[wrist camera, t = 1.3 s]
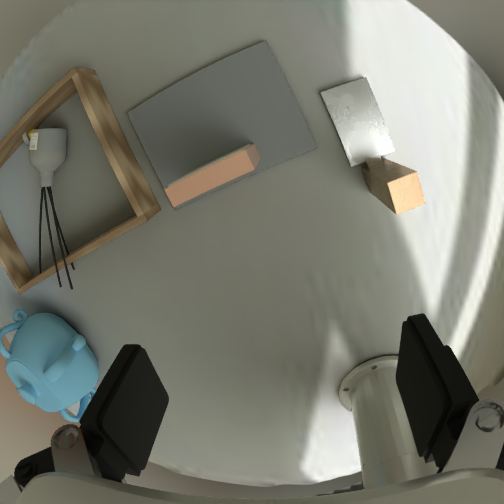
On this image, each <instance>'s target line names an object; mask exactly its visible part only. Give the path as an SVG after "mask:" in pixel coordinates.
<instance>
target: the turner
mask: <svg viewBox="0 0 504 504" xmlns="http://www.w3.org/2000/svg"><path fill="white" fill-rule="evenodd" d="M320 95H321V97H322V99H323V101H324V103H325V106H326V108H327V110H328V112H329V115H330V117H331V119H332V122H333V124H334V126H335V129H336V131H337V133H338V136H339V138H340V141H341V143H342V146H343V148H344V151H345V153H346V156H347V159H348V161H349V164H350V166H351V167H353V166H355V165H358V164H361V163H363V162H366V164H367V166H366V167H363V168H362V169H363V172H364V175H365V178H366V181H367V184H368V187H369V190H370V193H372V194H373V195H374V196H375V197H376V198H378V199H379V200H380V201H381V202H382V203H384V204H385V205H386V206H387V207H388V208H389V209H391V210H392V211H393V212H394V213H395V214H396V215H398V214H401V213H403V212H406V211H408V210H411V209H413V208H416V207H418V206H421V205H423V204H425V200H424V196H423V192H422V188H421V184H420V180H419V177H418V173H417V171H414V170H412V169H410V168H407V167H405V166H402V165H400V164H397V163H395V162H392V161H390V160H387V159H384V160H382V159H381V156H382V155H385V154H388V153H390V152H393V151H395V150H394V147H393V144H392V141H391V138H390V136H389V133H388V130H387V127H386V125H385V122H384V119H383V117H382V114H381V112H380V109H379V107H378V104H377V102H376V99H375V97H374V95H373V92H372V90H371V88H370V85H369V83H368V81H367V79H366V77H365V78H362V79H359V80H355V81H352V82H349V83H346V84H343V85H340V86H337V87H334V88H331V89H329V90H326V91H323V92H320Z"/></svg>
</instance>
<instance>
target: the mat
mask: <svg viewBox="0 0 504 504" xmlns="http://www.w3.org/2000/svg"><path fill="white" fill-rule="evenodd" d="M127 115H128V117H129V119H130V121H131V123H132V125H133V127H134V129H135V131H136V133H137V136H138V138H139V140H140V142H141V144H142V146H143V148H144V150H145V152H146V154H147V156H148V158H149V160H150V162H151V164H152V166H153V168H154V170H155V172H156V174H157V176H158V178H159V180H160V182H161V184H162V186H163V188H164V189H166V188H167V187H168V185H169V184H171V183H173V182H174V181H176V180H178V179H179V178H181V177H183V176H184V175H186V174H188V173H189V172H191V171H193V170H195V169H197V168H199V167H201V166H203V165H205V164H207V163H209V162H211V161H213V160H215V159H217V158H219V157H222V156H224V155H226V154H228V153H230V152H232V151H234V150H237V149H239V148H241V147H243V146H245V145H248V144H255V146H256V149H257V151H258V153H259V155H260V157H261V159H260V160H259V162H258V164H257V166H256V168H255V170H253V171H250V172H248V173H246V174H244V175H241V176H239V177H237V178H235V179H232V180H230V181H228V182H226V183H224V184H221V185H219V186H217V187H215V188H213V189H211V190H208V191H206V192H204V193H202V194H200V195H198V196H196V197H194V198H192V199H190V200H188V201H185V202H183V203H181V204H179V205H177V206H175V207H174V209H175V210H177V209H179V208H181V207H183V206H185V205H187V204H189V203H192V202H194V201H196V200H198V199H200V198H202V197H204V196H206V195H208V194H211V193H213V192H215V191H217V190H219V189H221V188H224V187H226V186H228V185H230V184H233V183H235V182H237V181H239V180H241V179H244V178H246V177H248V176H251V175H253V174H255V173H257V172H260V171H262V170H264V169H267V168H269V167H272V166H274V165H276V164H279V163H281V162H284V161H286V160H288V159H291V158H293V157H296V156H298V155H301V154H303V153H306V152H308V151H311V150H313V149H316V148H317V145H316V143H315V140H314V138H313V136H312V134H311V131H310V129H309V127H308V124H307V122H306V120H305V118H304V116H303V113H302V111H301V109H300V107H299V105H298V103H297V101H296V98H295V96H294V94H293V92H292V90H291V88H290V86H289V84H288V82H287V80H286V78H285V76H284V74H283V72H282V70H281V68H280V66H279V64H278V62H277V60H276V58H275V56H274V54H273V52H272V51H271V49H270V47H269V45H268V43H267V41H263V42H261V43H258V44H256V45H253V46H251V47H249V48H246V49H244V50H242V51H239V52H237V53H235V54H233V55H230V56H228V57H226V58H224V59H222V60H220V61H218V62H215V63H213V64H211V65H209V66H207V67H205V68H203V69H201V70H199V71H197V72H196V73H194V74H192V75H190V76H188V77H186V78H184V79H182V80H181V81H179V82H177V83H175V84H173V85H172V86H170V87H168V88H166V89H165V90H163V91H161V92H160V93H158V94H156V95H155V96H153V97H151V98H150V99H148V100H146V101H145V102H143V103H142V104H140V105H139V106H137V107H135V108H134V109H132V110H131V111H129V112H128V113H127Z"/></svg>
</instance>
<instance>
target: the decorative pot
mask: <svg viewBox="0 0 504 504" xmlns="http://www.w3.org/2000/svg"><path fill="white" fill-rule="evenodd" d="M18 315H19V316H21V317H22V320H21V321H20V320H19V318H18ZM13 319H14V321H15V322H16V323H13V324H9V325H7V326H5V327H3V328H1V329H0V352H1V354H2V355H3V356H4V357H5V358H7V361H6V372H7V374H8V375H9V377H10V379H11V380H12V381H13V383H14V384H15V385H16V386H17V388H16V389H17V391H18V393H19V394H20V395H21V396H22V397H23V398H24V399H25V400H26V401H27V402H29V403H31V404H35V405H37V406H38V407H39V408H41V409H43V410H44V411H47V412H56V411H59V413H60V414H61V415H62V416H63V418H65V419H66V420H68V421H71V422H79V420H80V418H81V417H82V415H83V413H84V411H85V410H86V408H87V406H88V401H89V402H90V401H91V399H92V397H93V396H94V394H95V392H96V389H95V388H94V386H95V385H96V383H97V381H98V379H99V368H98V363H97V360H96V358H95V356H94V354H93V352H92V351H91V349H90V348H89V347H88V345H87V344H86V340H85V338H84V337H83V336H82V335H79V334H78V333H77V332H76V331H75V330H74V329H73V328H72V327H70V326H69V325H68V324H67V323H66V322H65V320H64V319H62V318H61V317H58V316H56V315H54V314H52V313H37V314H34V315H32V316H30V317H28V314H27V313H26V312H25V311H24V310H22V309H18V310H16V311H15V312H14V314H13ZM18 328H19V329H18ZM15 329H18V331H17V332H16V334H15V336H14V338H13V340H12V342H11V345H10V349H9V351H8V350H7V349H6V348H5V346H4V344H3V341H2V337H3V335H4V334H6V333H7V332H10V331H12V330H15ZM89 393H90V394H91V398H90V397H89ZM80 399H81V402H80V408H79V412H78V414H77V416H76V417H74V416H72V415H70V414H69V413H68V412H67V411H66V410H65V408H66V407H68V406H70V405H72V404H74V403H76V402H77V401H79V400H80Z"/></svg>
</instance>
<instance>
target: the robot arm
mask: <svg viewBox="0 0 504 504" xmlns="http://www.w3.org/2000/svg"><path fill="white" fill-rule="evenodd" d="M339 398H340V402H341V404H342V405H343V406H344V408H346V409H347V410H349V411H351V412H353V417H354V423H355V429H356V435H357V442H358V448H359V455H360V462H361V469H362V476H363V485H364V490H360V491H354V492H348V493H341V494H333V495H324V496H314V497H301V498H284V499H239V498H219V497H206V496H197V495H187V494H180V493H172V492H166V491H160V490H154V489H149V488H144V487H139V486H134V485H130V484H127V482H126V480H125V478H124V477H125V474H126V473H127V474H130V475H135V476H139V475H140V473H141V470H143V469H145V467H146V464H147V461H148V458H149V456H150V453H151V450H152V447H153V444H154V441H155V439H156V436H157V433H158V430H159V427H160V425H161V422H162V419H163V416H164V413H165V411H166V408H167V405H168V402H169V397H168V394H167V392H166V390H165V388H164V386H163V384H162V382H161V381H160V379H159V377H158V375H157V373H156V371H155V369H154V367H153V365H152V363H151V361H150V359H149V357H148V355H147V353H146V351H145V349H144V348H142V347H141V346H140V345H138V344H126V345H124V346H123V347H122V349H121V350H120V352H119V354H118V355H117V357H116V359H115V360H114V362H113V364H112V365H111V367H110V369H109V370H108V372H107V374H106V375H105V377H104V379H103V380H102V382H101V384H100V385H99V387H98V389H97V390H96V392H95V394H94V396H93V397H92V399H91V401H90V403H89V404H88V406H87V408H86V410H85V411H84V413H83V415H82V417H81V418H80V420H79V422H80V423H81V426H80V427H78V426H76V425H73V424H67V425H63V426H62V427H60V428H58V429H57V430H56V431H55V433H54V434H53V436H52V438H51V447H49V448H47V449H44V450H42V451H40V452H38V453H36V454H33V455H31V456H29V457H27V458H24V459H23V460H21V461H20V462H19V463H18V464H17V466H16V468H15V472H14V474H15V475H14V476H15V477H14V476H12V475H10V476H9V477H8V478H7V479H5V480H4V481H3V482H2V483H0V504H504V404H503V403H502V402H501V401H498V400H496V399H490V398H488V399H482V400H480V401H479V399H478V397H477V395H476V393H475V391H474V389H473V387H472V385H471V383H470V381H469V380H468V378H467V376H466V374H465V372H464V370H463V369H462V367H461V365H460V363H459V362H458V360H457V358H456V356H455V355H454V353H453V351H452V349H451V348H450V347H449V346H447V345H445V346H443V344H442V342H441V340H440V339H439V337H438V335H437V334H436V332H435V330H434V329H433V327H432V325H431V324H430V322H429V320H428V319H427V317H426V316H425V314H423V313H422V314H417V315H412V316H409V317H408V318H407V321H404V322H403V324H402V333H401V341H400V349H399V356H383V357H378V358H375V359H372V360H369V361H367V362H365V363H363V364H361V365H359V366H358V367H356V368H355V369H353V370H352V371H351V372H350V373H349V374H348V375H347V376H346V377H345V378H344V380H343V381H342V383H341V385H340V388H339Z"/></svg>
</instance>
